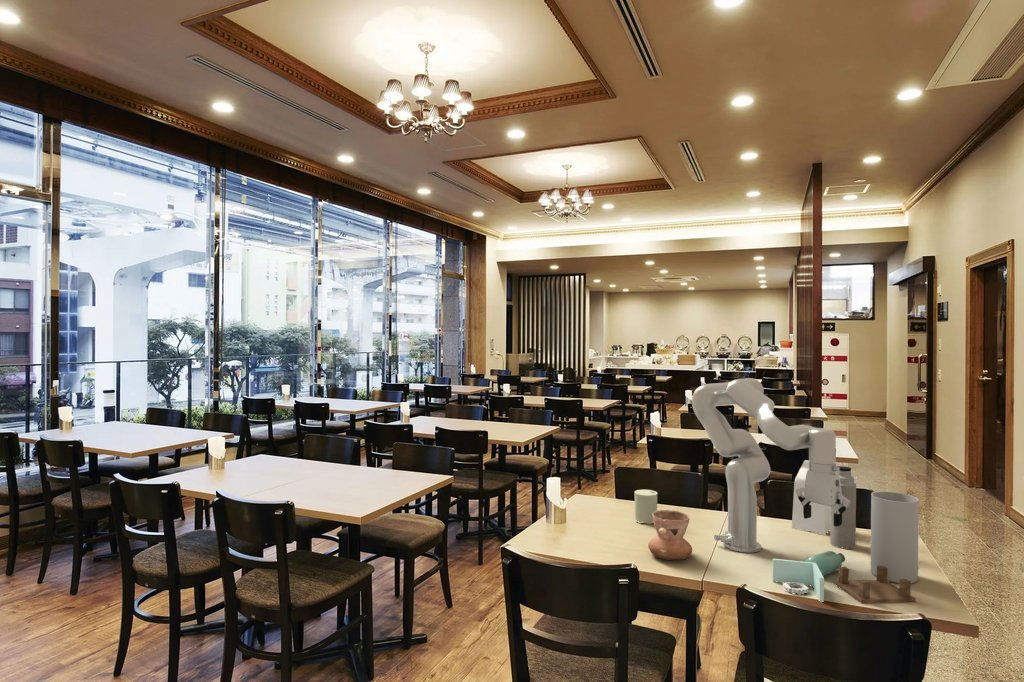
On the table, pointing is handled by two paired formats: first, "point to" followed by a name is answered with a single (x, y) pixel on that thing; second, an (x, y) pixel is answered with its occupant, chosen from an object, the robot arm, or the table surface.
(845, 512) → the thermos bottle
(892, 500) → the cylinder vase
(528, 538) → the table surface
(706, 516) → the table surface
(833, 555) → the bottle
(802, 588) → the right angle wall
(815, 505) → the milk
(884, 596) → the rest
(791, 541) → the table surface
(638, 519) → the can
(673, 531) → the ceramic jug
